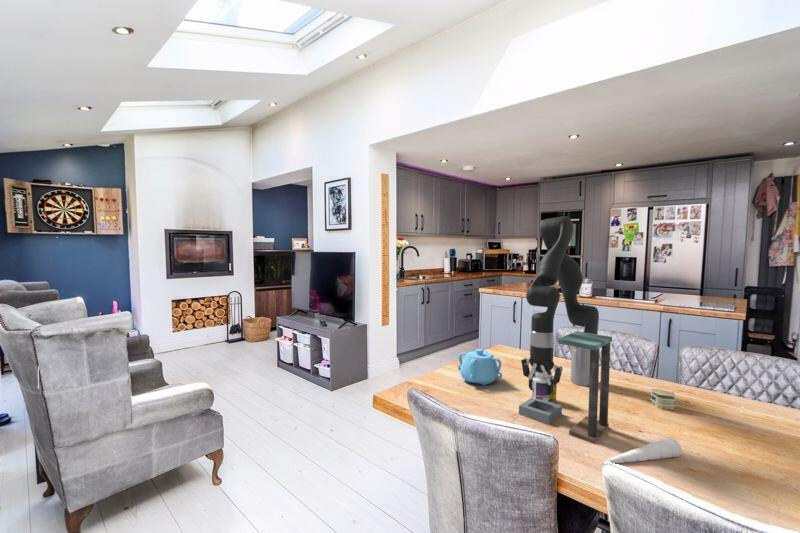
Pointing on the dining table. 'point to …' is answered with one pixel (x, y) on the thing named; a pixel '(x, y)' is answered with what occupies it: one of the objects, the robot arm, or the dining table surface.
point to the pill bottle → (539, 387)
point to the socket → (540, 410)
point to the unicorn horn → (650, 452)
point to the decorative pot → (479, 367)
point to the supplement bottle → (553, 396)
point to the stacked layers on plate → (663, 399)
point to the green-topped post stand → (593, 383)
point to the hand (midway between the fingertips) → (540, 391)
